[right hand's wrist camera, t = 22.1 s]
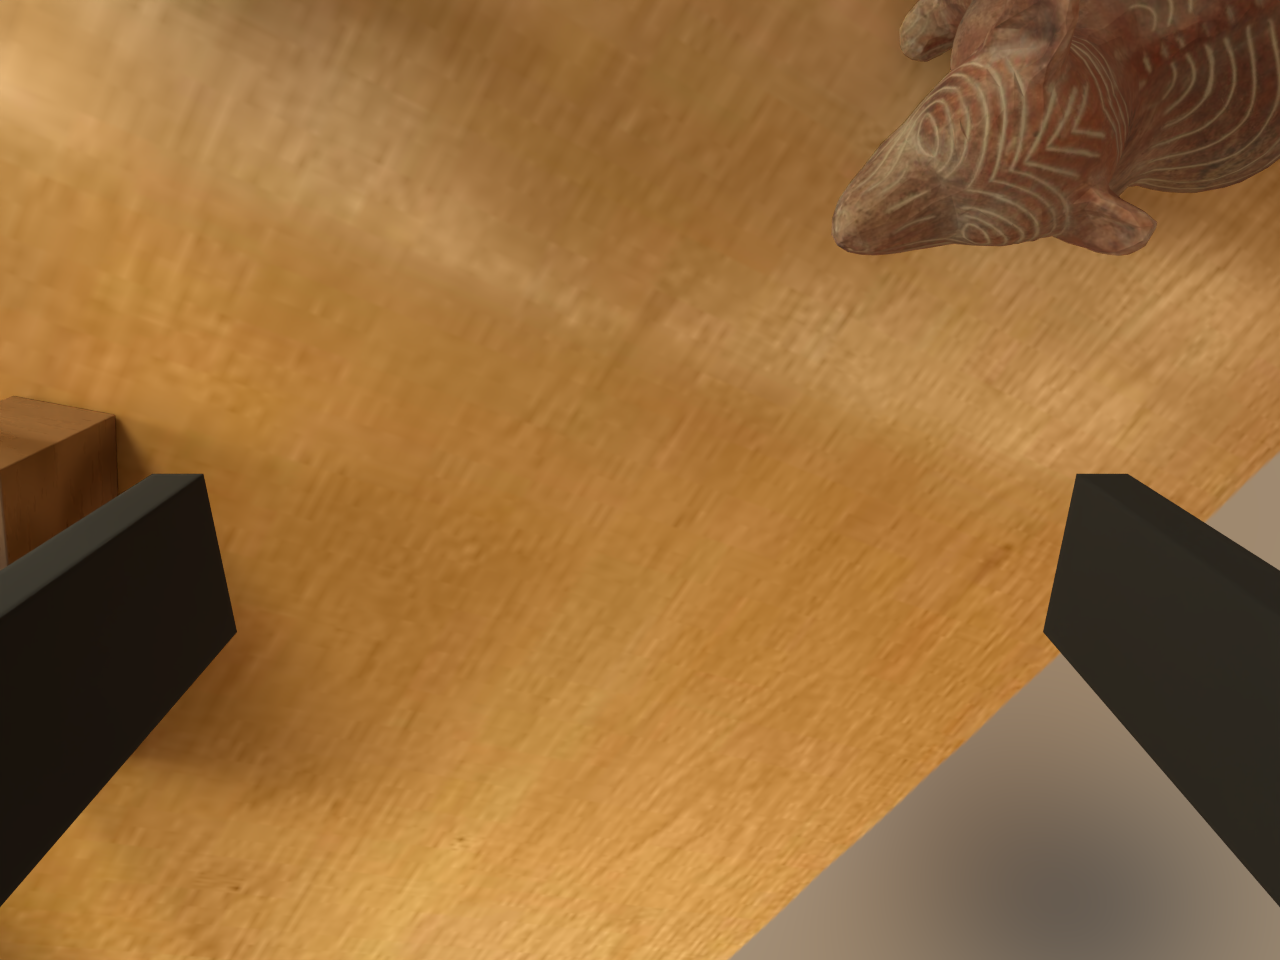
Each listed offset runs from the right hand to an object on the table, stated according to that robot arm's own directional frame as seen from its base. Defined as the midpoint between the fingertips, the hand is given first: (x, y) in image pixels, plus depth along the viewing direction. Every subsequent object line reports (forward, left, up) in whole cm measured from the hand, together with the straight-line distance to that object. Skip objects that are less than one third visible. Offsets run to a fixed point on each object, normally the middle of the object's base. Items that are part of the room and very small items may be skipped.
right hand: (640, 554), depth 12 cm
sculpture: (-17, +11, -30) cm, 36 cm away
